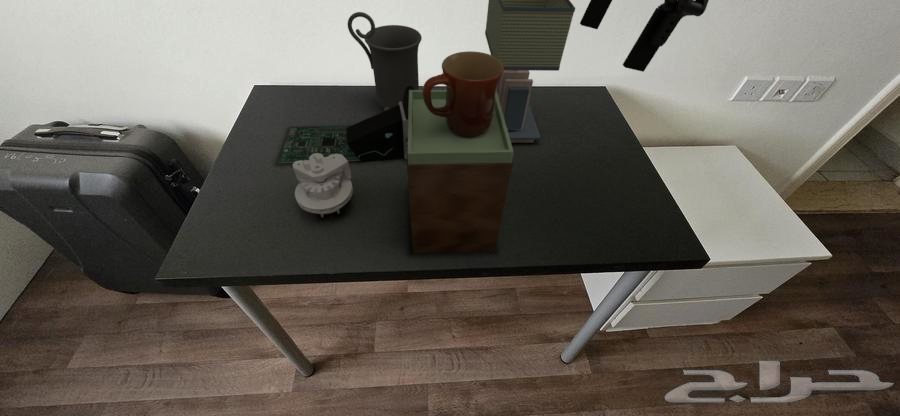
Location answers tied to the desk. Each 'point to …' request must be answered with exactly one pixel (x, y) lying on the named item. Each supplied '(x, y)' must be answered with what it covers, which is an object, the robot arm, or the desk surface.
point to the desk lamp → (525, 53)
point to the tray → (453, 136)
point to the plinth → (456, 205)
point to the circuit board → (316, 143)
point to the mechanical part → (323, 183)
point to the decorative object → (382, 133)
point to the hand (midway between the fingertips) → (608, 45)
